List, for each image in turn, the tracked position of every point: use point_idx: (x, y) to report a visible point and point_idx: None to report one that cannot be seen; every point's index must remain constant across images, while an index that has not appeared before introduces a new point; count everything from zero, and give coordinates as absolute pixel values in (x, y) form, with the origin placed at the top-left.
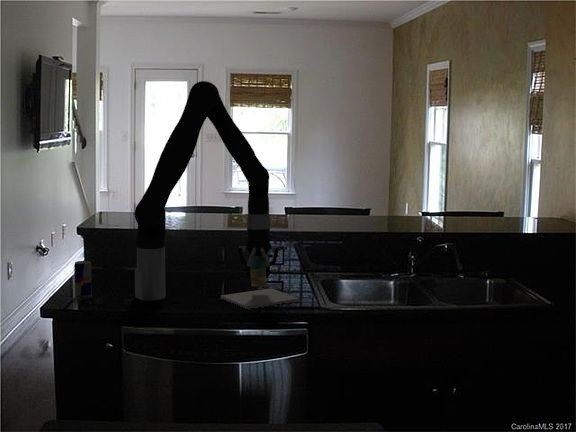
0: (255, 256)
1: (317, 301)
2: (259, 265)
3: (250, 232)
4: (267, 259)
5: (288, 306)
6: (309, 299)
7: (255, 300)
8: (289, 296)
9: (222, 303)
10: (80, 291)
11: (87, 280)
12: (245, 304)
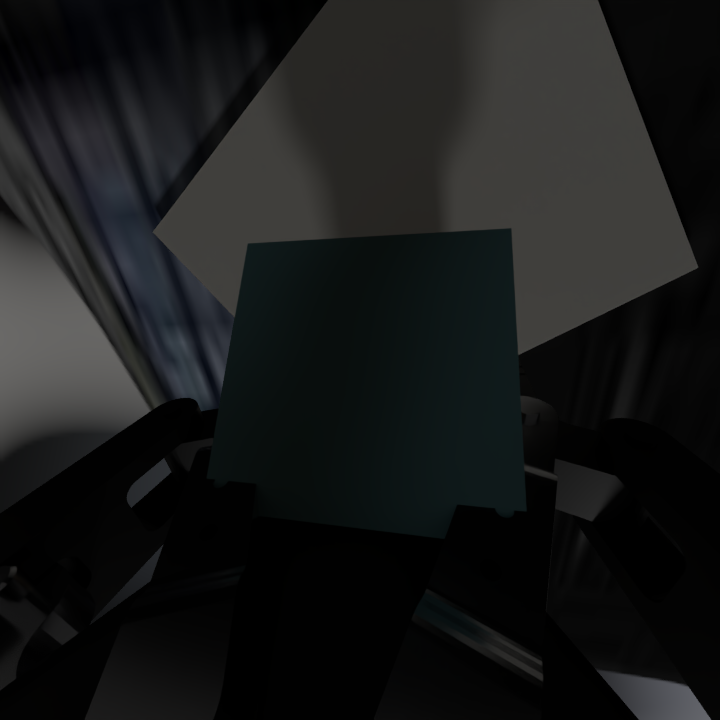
0: (412, 511)
1: (83, 241)
2: (338, 292)
3: None
4: (210, 446)
5: (178, 70)
6: (136, 281)
7: (419, 128)
8: (219, 277)
9: (715, 88)
10: None
11: None
12: None
